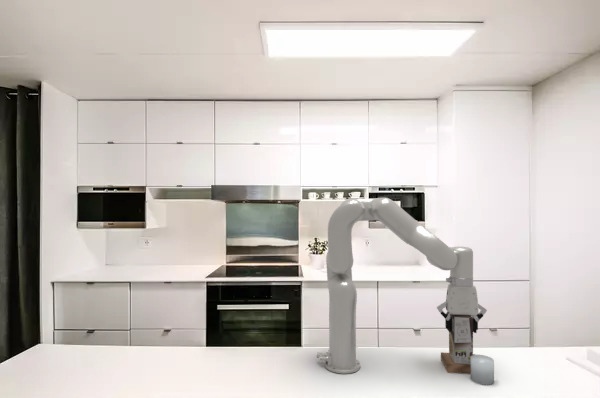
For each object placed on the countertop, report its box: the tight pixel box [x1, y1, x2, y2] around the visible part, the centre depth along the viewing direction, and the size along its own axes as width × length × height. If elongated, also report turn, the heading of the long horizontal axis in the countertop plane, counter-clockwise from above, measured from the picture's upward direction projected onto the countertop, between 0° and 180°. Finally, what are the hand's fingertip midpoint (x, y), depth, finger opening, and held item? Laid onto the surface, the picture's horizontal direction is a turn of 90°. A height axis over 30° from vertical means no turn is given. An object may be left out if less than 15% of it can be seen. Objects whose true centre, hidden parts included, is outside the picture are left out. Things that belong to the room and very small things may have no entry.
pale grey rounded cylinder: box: [470, 354, 495, 386], centre depth 125 cm, size 7×7×7 cm
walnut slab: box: [440, 351, 476, 375], centre depth 134 cm, size 12×10×3 cm
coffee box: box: [448, 315, 474, 365], centre depth 134 cm, size 9×6×16 cm
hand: (461, 330), depth 134 cm, fingers open, 8 cm apart
